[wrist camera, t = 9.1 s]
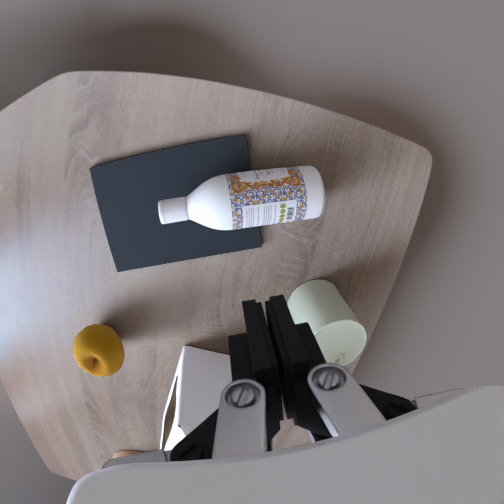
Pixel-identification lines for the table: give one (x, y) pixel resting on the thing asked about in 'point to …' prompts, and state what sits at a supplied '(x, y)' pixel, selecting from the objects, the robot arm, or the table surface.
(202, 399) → the gable box
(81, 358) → the apple
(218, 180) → the bath foam
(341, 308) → the can
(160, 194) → the mat
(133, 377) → the table surface
